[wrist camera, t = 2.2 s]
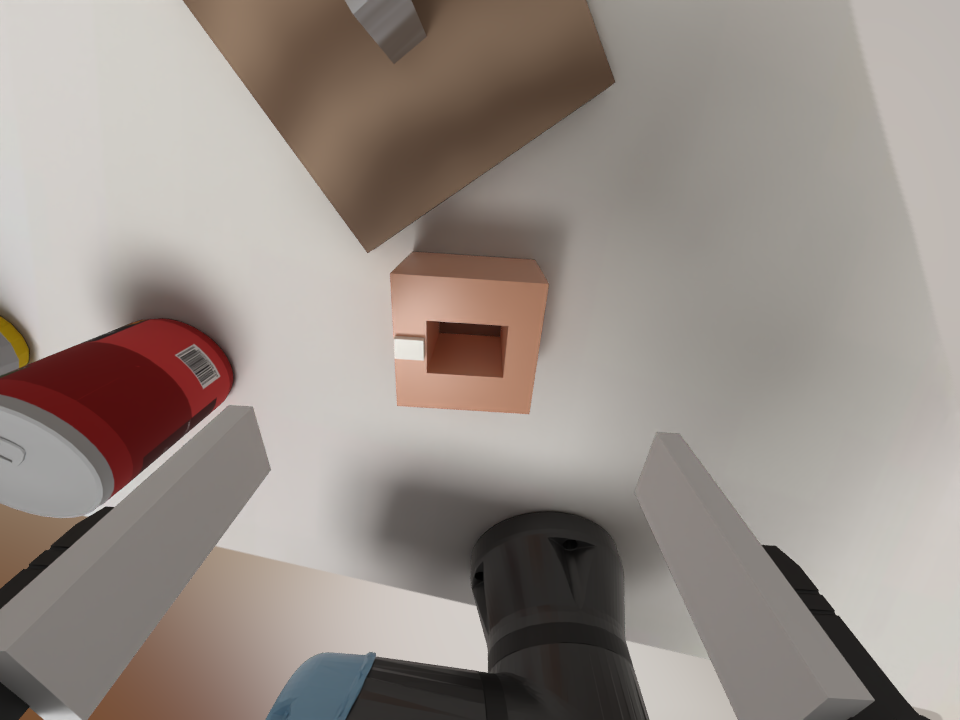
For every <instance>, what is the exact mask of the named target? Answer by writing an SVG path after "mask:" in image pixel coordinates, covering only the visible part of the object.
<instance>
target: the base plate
mask: <svg viewBox="0 0 960 720" xmlns="http://www.w3.org/2000/svg"><path fill="white" fill-rule="evenodd" d="M183 1H184V3H185V4H186V5H187V7H188V8H189V9H190V11H191V12H192V14H193V15H194V16H195V18H196V19H197V20H198V22H199V23H200V24H201V26H202V27H203V29H204V30H205V31H206V33H207V34H208V35H209V37H210V38H211V40H212V41H213V42H214V44H215V45H216V46H217V48H218V49H219V50H220V52H221V53H222V55H223V56H224V57H225V59H226V60H227V61H228V63H229V64H230V66H231V67H232V68H233V70H234V71H235V72H236V74H237V75H238V76H239V78H240V79H241V81H242V82H243V83H244V85H245V86H246V87H247V89H248V90H249V91H250V93H251V94H252V96H253V97H254V98H255V100H256V101H257V102H258V104H259V105H260V107H261V108H262V109H263V111H264V112H265V113H266V115H267V116H268V117H269V119H270V120H271V122H272V123H273V124H274V126H275V127H276V128H277V130H278V131H279V133H280V134H281V135H282V137H283V138H284V139H285V141H286V142H287V143H288V145H289V146H290V148H291V149H292V150H293V152H294V153H295V154H296V156H297V157H298V159H299V160H300V161H301V163H302V164H303V165H304V167H305V168H306V169H307V171H308V172H309V174H310V175H311V176H312V178H313V179H314V180H315V182H316V183H317V185H318V186H319V187H320V189H321V190H322V191H323V193H324V194H325V195H326V197H327V198H328V200H329V201H330V202H331V204H332V205H333V206H334V208H335V209H336V211H337V212H338V213H339V215H340V216H341V217H342V219H343V220H344V221H345V223H346V224H347V226H348V227H349V228H350V230H351V231H352V232H353V234H354V235H355V237H356V238H357V239H358V241H359V242H360V243H361V245H362V246H363V247H364V249H365V250H366V252H367V253H369V252H370V251H372V250H373V249H375V248H376V247H378V246H379V245H381V244H382V243H384V242H385V241H387V240H388V239H390V238H391V237H392V236H394V235H395V234H397V233H398V232H400V231H401V230H403V229H404V228H405V227H407V226H408V225H410V224H411V223H413V222H414V221H416V220H417V219H419V218H420V217H421V216H423V215H424V214H426V213H427V212H429V211H430V210H432V209H433V208H435V207H436V206H437V205H439V204H440V203H442V202H443V201H445V200H446V199H448V198H449V197H450V196H452V195H453V194H455V193H456V192H458V191H459V190H461V189H462V188H464V187H465V186H466V185H468V184H469V183H471V182H472V181H474V180H475V179H477V178H478V177H479V176H481V175H482V174H484V173H485V172H487V171H488V170H490V169H491V168H493V167H494V166H495V165H497V164H498V163H500V162H501V161H503V160H504V159H506V158H507V157H508V156H510V155H511V154H513V153H514V152H516V151H517V150H519V149H520V148H522V147H523V146H524V145H526V144H527V143H529V142H530V141H532V140H533V139H535V138H536V137H537V136H539V135H540V134H542V133H543V132H545V131H546V130H548V129H549V128H551V127H552V126H553V125H555V124H556V123H558V122H559V121H561V120H562V119H564V118H565V117H567V116H568V115H569V114H571V113H572V112H574V111H575V110H577V109H578V108H580V107H581V106H582V105H584V104H585V103H587V102H588V101H590V100H591V99H593V98H594V97H596V96H597V95H598V94H600V93H601V92H603V91H604V90H606V89H607V88H608V87H610V86H611V85H612V84H614V83H615V80H614V77H613V75H612V72H611V69H610V66H609V63H608V61H607V58H606V55H605V52H604V49H603V47H602V44H601V41H600V38H599V35H598V32H597V30H596V27H595V24H594V21H593V18H592V16H591V13H590V10H589V7H588V4H587V2H586V0H183Z"/></svg>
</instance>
